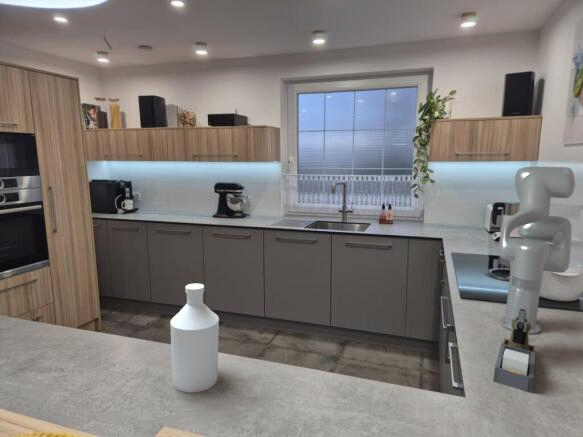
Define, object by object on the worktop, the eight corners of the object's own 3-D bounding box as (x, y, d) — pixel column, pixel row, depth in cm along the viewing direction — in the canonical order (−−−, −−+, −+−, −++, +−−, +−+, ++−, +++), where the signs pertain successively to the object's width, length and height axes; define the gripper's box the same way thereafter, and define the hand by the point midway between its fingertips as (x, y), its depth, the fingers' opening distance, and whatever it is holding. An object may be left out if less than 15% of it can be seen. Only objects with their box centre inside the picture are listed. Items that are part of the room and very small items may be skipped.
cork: (532, 359, 111) (537, 325, 109) (510, 357, 112) (514, 322, 111) (524, 350, 117) (528, 317, 115) (503, 347, 118) (507, 315, 116)
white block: (502, 371, 104) (505, 348, 103) (525, 378, 101) (528, 354, 100) (500, 380, 99) (503, 356, 98) (524, 388, 96) (528, 363, 95)
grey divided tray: (500, 355, 113) (501, 342, 112) (533, 364, 108) (535, 351, 107) (493, 381, 99) (495, 366, 98) (531, 392, 94) (533, 377, 93)
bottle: (193, 399, 87) (193, 298, 84) (161, 382, 94) (159, 287, 90) (228, 376, 97) (228, 285, 94) (196, 362, 103) (196, 276, 100)
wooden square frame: (503, 344, 120) (504, 338, 120) (534, 352, 116) (534, 346, 115) (500, 354, 113) (501, 348, 113) (533, 363, 109) (534, 357, 108)
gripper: (513, 275, 120) (507, 325, 122) (509, 287, 106) (502, 344, 108) (541, 280, 116) (534, 332, 118) (540, 293, 102) (533, 351, 104)
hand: (519, 337), depth 113 cm, fingers open, 9 cm apart
